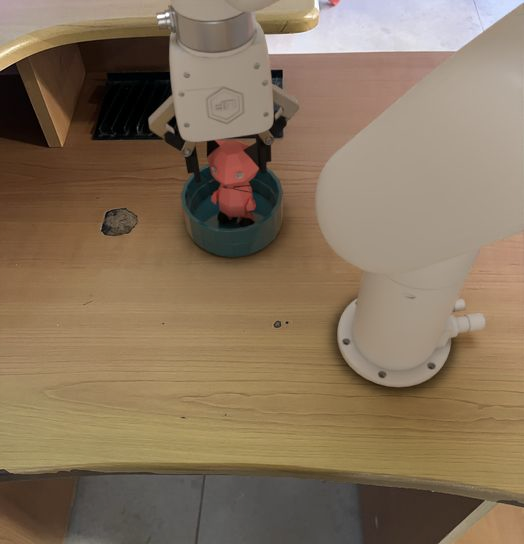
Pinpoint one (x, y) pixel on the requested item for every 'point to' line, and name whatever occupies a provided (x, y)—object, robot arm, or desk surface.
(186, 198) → the bowl
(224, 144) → the cat figurine
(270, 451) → the desk surface
